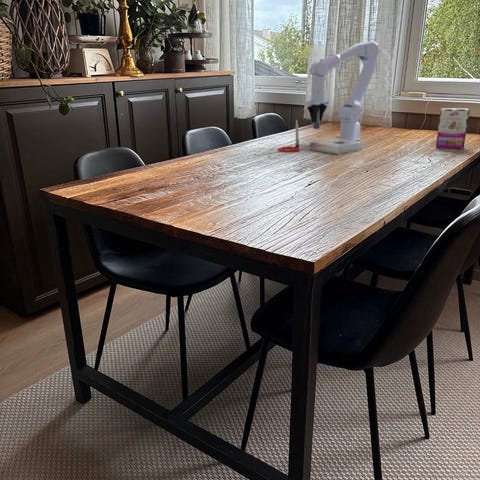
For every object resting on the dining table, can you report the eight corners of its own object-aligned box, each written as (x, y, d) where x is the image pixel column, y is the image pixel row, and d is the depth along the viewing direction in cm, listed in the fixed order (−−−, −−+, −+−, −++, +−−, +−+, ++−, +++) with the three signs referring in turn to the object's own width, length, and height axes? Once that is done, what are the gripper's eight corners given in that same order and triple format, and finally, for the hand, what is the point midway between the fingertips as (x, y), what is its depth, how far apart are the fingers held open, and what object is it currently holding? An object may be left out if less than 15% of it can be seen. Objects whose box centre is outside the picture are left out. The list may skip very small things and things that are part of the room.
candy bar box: (463, 147, 202) (469, 108, 196) (463, 149, 198) (470, 109, 191) (435, 145, 206) (440, 107, 200) (435, 148, 201) (440, 108, 195)
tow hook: (278, 153, 200) (300, 152, 199) (277, 122, 195) (299, 121, 194) (277, 149, 208) (298, 148, 207) (276, 120, 203) (298, 118, 202)
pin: (315, 127, 216) (316, 107, 213) (320, 128, 214) (321, 108, 210) (311, 128, 214) (312, 108, 211) (316, 129, 212) (317, 108, 209)
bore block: (332, 144, 214) (333, 137, 213) (362, 148, 203) (362, 141, 202) (309, 149, 204) (309, 142, 203) (338, 154, 193) (339, 147, 192)
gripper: (321, 89, 215) (320, 119, 220) (300, 91, 206) (299, 122, 211) (333, 89, 210) (331, 120, 215) (312, 92, 201) (310, 124, 206)
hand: (316, 121), depth 213 cm, fingers closed on pin, 3 cm apart
